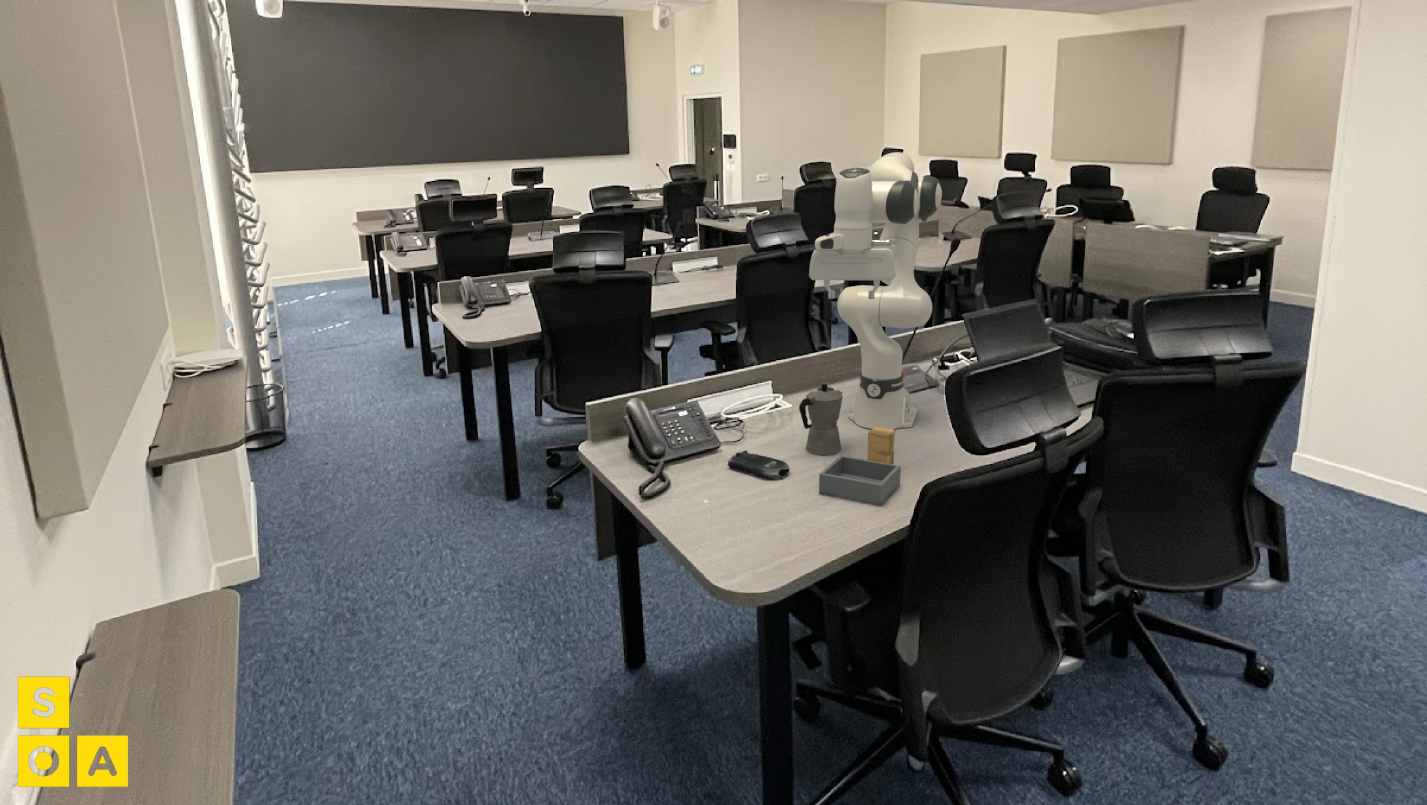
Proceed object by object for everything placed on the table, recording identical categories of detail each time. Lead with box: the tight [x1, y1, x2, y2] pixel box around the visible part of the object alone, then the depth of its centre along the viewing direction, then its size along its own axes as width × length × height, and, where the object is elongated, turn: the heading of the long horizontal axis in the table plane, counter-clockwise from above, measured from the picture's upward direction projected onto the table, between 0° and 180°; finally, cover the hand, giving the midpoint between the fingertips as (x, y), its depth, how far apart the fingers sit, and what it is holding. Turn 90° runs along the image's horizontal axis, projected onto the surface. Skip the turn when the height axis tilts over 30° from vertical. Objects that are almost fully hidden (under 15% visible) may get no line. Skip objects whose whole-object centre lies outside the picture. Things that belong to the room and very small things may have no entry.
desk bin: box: [818, 454, 901, 507], centre depth 203 cm, size 13×15×5 cm
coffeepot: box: [798, 383, 844, 457], centre depth 225 cm, size 15×9×18 cm, turn 129°
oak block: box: [866, 427, 896, 465], centre depth 214 cm, size 5×5×10 cm
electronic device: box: [727, 449, 790, 481], centre depth 216 cm, size 9×6×15 cm
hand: (851, 298), depth 208 cm, fingers open, 8 cm apart
